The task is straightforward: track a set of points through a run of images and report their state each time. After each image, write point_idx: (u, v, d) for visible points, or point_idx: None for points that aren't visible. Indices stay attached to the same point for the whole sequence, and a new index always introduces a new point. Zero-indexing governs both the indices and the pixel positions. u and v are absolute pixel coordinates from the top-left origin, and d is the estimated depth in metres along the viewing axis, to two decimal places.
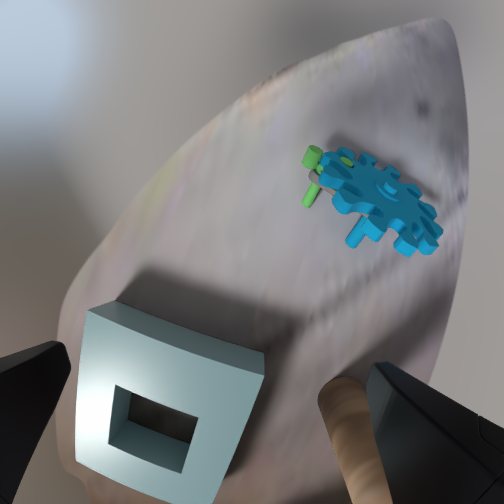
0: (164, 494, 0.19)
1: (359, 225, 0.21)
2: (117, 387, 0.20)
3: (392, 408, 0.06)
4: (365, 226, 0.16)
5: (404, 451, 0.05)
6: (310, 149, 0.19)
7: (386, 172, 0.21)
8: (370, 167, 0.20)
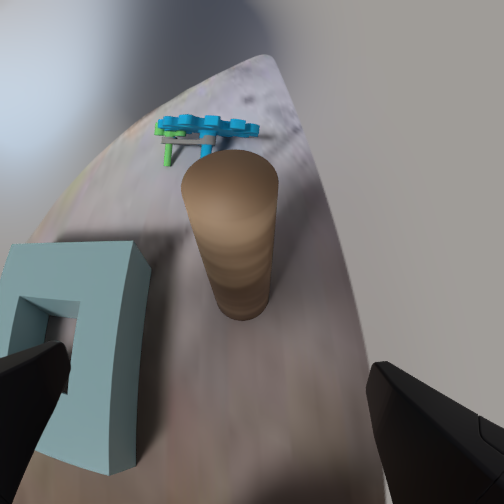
0: (55, 445, 0.13)
1: (201, 155, 0.28)
2: (22, 306, 0.18)
3: (392, 408, 0.06)
4: (179, 120, 0.23)
5: (404, 451, 0.05)
6: None
7: None
8: None
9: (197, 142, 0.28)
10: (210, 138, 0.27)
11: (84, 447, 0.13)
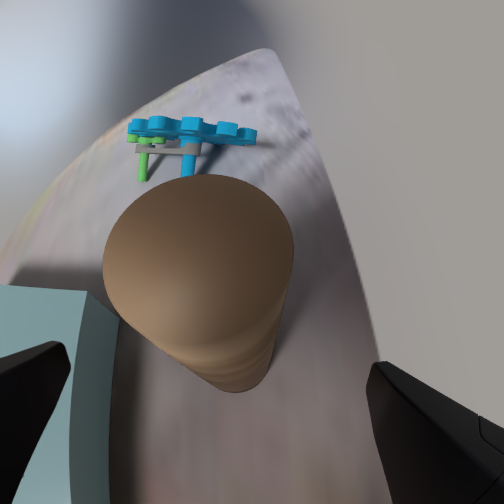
0: None
1: (181, 169, 0.22)
2: None
3: (392, 408, 0.06)
4: (149, 123, 0.17)
5: (404, 451, 0.05)
6: None
7: None
8: None
9: (177, 152, 0.21)
10: (193, 147, 0.21)
11: None
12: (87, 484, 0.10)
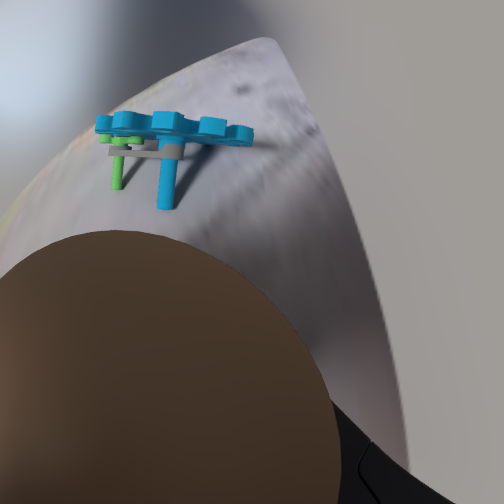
0: None
1: (160, 176, 0.18)
2: None
3: None
4: (113, 121, 0.13)
5: None
6: None
7: None
8: None
9: (154, 155, 0.17)
10: (173, 149, 0.17)
11: None
12: None
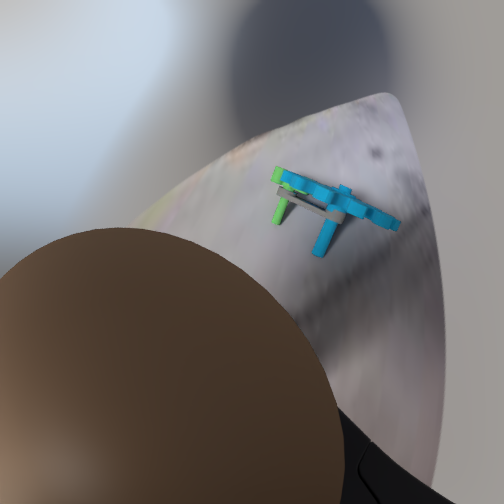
0: None
1: (322, 231, 0.23)
2: None
3: None
4: (315, 192, 0.19)
5: None
6: (276, 166, 0.24)
7: None
8: None
9: (323, 214, 0.23)
10: (340, 215, 0.22)
11: None
12: None
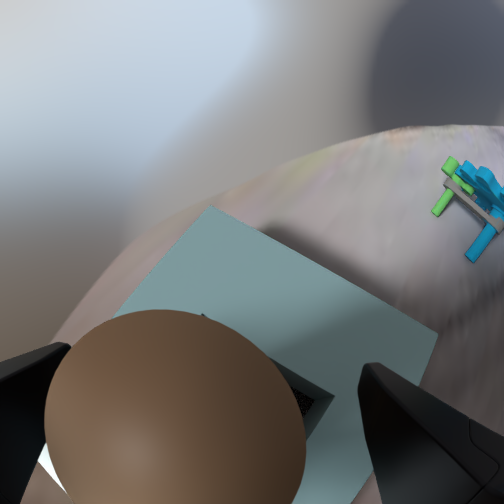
0: None
1: (481, 235, 0.17)
2: None
3: (382, 410, 0.06)
4: None
5: (394, 453, 0.05)
6: None
7: None
8: None
9: (487, 218, 0.17)
10: (501, 225, 0.16)
11: None
12: None
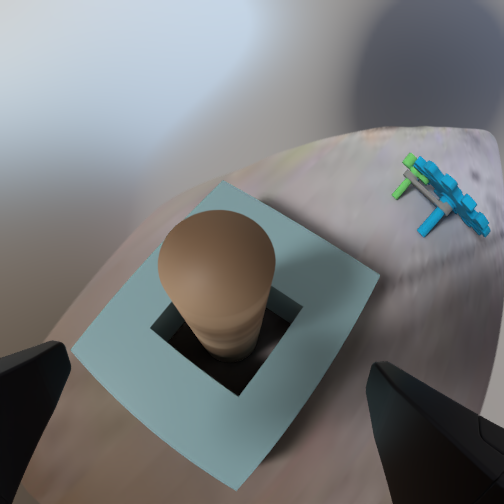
0: (185, 437, 0.14)
1: (431, 215, 0.24)
2: None
3: (392, 408, 0.06)
4: (444, 178, 0.20)
5: (404, 451, 0.05)
6: (411, 153, 0.25)
7: None
8: None
9: (436, 202, 0.24)
10: (448, 208, 0.23)
11: (226, 456, 0.14)
12: None
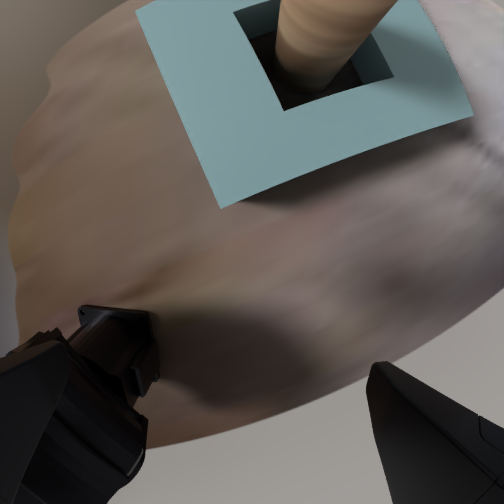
0: (205, 125, 0.14)
1: None
2: None
3: (392, 408, 0.06)
4: None
5: (404, 451, 0.05)
6: None
7: None
8: None
9: None
10: None
11: (234, 164, 0.14)
12: None
